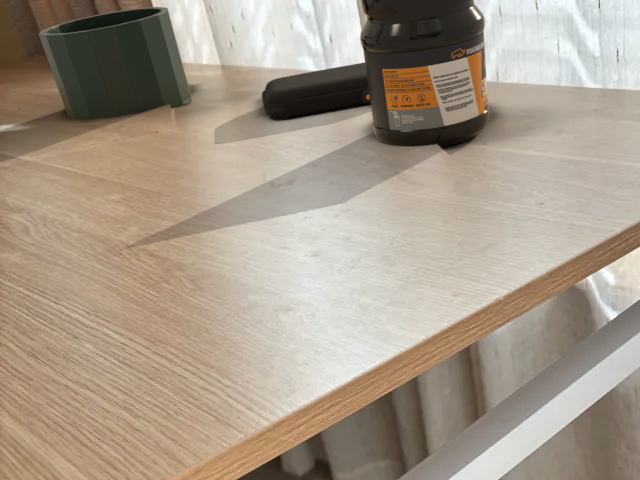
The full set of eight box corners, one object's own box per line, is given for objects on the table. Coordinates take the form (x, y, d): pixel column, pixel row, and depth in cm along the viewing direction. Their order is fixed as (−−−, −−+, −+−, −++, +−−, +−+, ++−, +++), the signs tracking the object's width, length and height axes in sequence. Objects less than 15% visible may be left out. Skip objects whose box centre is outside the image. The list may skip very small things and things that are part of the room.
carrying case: (268, 132, 82) (410, 106, 83) (261, 99, 80) (406, 72, 81) (264, 109, 91) (394, 85, 91) (258, 78, 89) (390, 54, 89)
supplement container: (475, 150, 68) (464, -21, 61) (359, 156, 72) (334, -6, 64) (501, 115, 76) (494, -41, 68) (394, 121, 79) (376, -27, 71)
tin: (67, 137, 93) (32, 41, 87) (76, 110, 104) (46, 24, 98) (194, 112, 94) (168, 16, 88) (189, 88, 105) (166, 2, 99)
